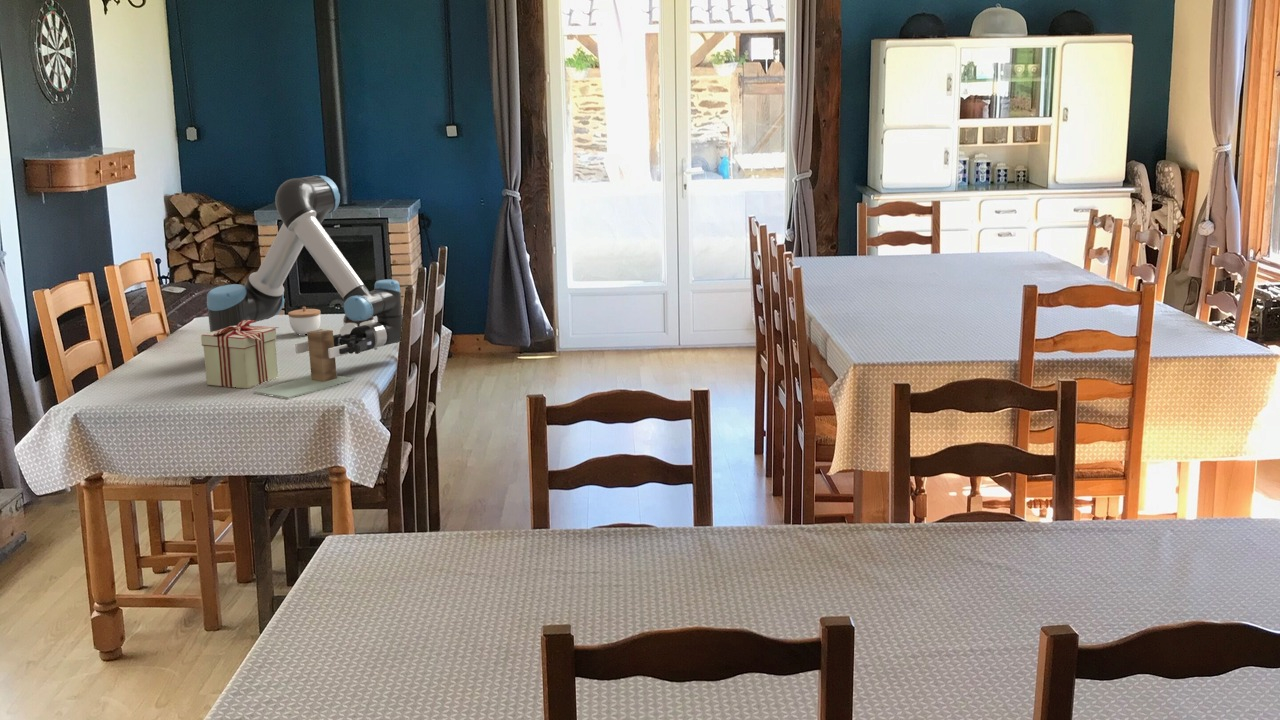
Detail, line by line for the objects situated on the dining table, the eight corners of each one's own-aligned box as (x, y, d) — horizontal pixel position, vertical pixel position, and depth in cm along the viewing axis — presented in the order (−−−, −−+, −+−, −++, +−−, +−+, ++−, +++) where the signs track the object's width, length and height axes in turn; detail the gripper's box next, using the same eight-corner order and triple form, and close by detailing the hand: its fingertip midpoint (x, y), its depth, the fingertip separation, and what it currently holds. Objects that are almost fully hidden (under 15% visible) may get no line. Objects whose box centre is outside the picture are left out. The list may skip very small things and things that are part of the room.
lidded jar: (328, 332, 423) (326, 305, 421) (305, 338, 414) (302, 310, 412) (307, 329, 429) (304, 303, 427) (283, 335, 420) (281, 308, 418)
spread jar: (374, 336, 413) (371, 302, 411) (378, 343, 403) (375, 308, 400) (337, 340, 410) (334, 305, 407) (340, 346, 399) (337, 311, 397)
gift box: (260, 389, 344) (254, 330, 341) (203, 387, 349) (196, 328, 346) (292, 375, 360) (287, 318, 357) (237, 373, 365) (231, 316, 362)
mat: (320, 374, 360) (320, 373, 360) (353, 380, 352) (353, 378, 352) (254, 393, 341) (254, 391, 340) (288, 399, 333) (288, 397, 333)
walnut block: (324, 376, 355) (320, 328, 352) (336, 378, 353) (332, 329, 350) (311, 380, 351) (307, 331, 348) (323, 381, 349) (319, 332, 346)
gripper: (398, 353, 359) (344, 368, 341) (339, 345, 372) (284, 359, 355) (396, 328, 357) (342, 342, 340) (337, 321, 371) (281, 334, 353)
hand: (312, 351), depth 347 cm, fingers open, 13 cm apart
